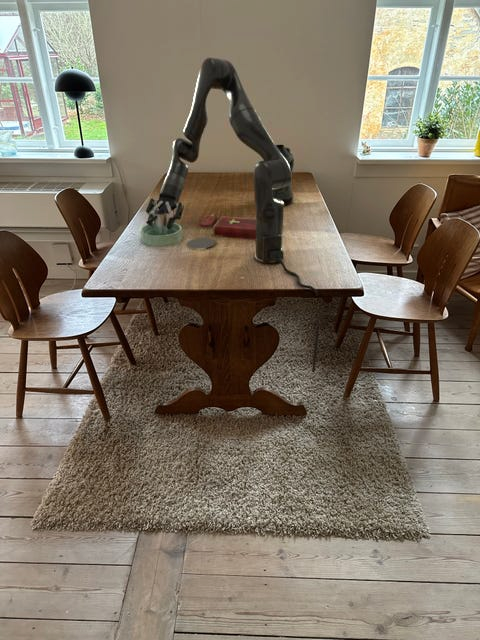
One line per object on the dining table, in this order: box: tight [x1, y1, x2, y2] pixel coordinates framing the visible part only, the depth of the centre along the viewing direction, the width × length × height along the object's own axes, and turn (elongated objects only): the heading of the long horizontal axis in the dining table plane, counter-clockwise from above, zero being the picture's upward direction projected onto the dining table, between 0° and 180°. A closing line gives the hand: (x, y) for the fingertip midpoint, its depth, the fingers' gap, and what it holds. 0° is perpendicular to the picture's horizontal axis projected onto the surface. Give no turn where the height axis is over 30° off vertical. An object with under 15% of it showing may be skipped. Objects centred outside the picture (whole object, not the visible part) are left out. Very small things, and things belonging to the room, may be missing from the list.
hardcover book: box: [212, 215, 256, 240], centre depth 179 cm, size 12×21×4 cm, turn 76°
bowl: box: [140, 221, 183, 247], centre depth 173 cm, size 15×15×4 cm
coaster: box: [187, 237, 216, 250], centre depth 170 cm, size 10×10×1 cm
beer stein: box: [272, 144, 295, 207], centre depth 210 cm, size 16×19×25 cm
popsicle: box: [200, 213, 217, 228], centre depth 191 cm, size 4×2×15 cm
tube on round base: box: [145, 211, 168, 236], centre depth 169 cm, size 11×5×10 cm, turn 156°
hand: (158, 226), depth 170 cm, fingers open, 8 cm apart
